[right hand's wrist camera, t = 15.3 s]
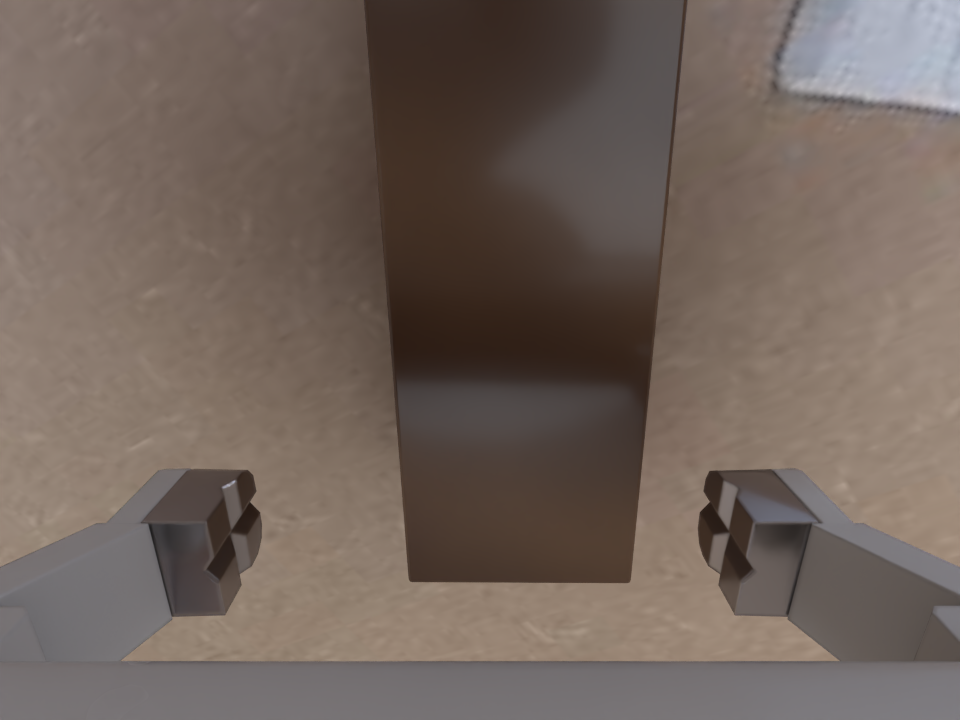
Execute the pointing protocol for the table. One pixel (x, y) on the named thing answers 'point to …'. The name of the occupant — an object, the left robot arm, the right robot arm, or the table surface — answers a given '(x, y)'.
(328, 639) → the table surface
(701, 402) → the table surface
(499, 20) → the beam
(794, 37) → the table surface
